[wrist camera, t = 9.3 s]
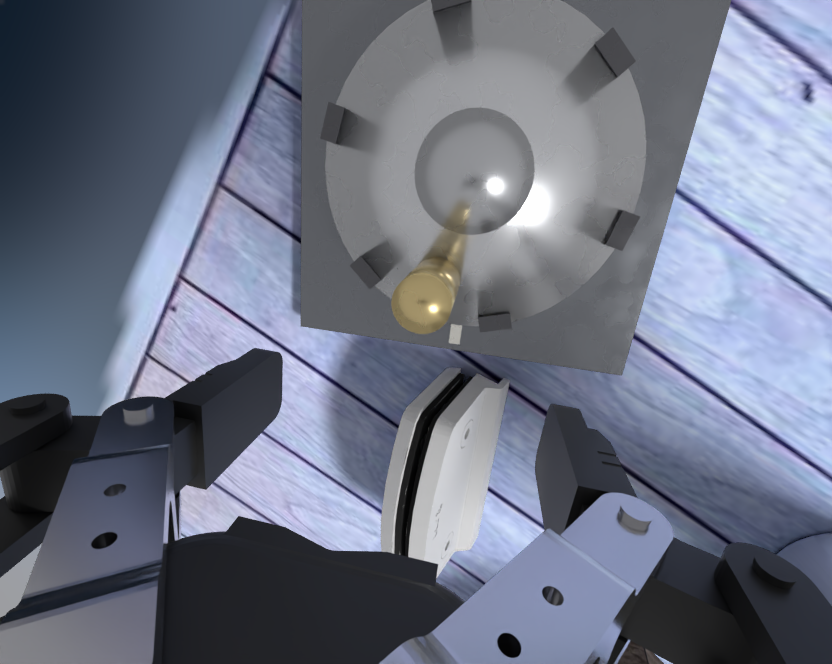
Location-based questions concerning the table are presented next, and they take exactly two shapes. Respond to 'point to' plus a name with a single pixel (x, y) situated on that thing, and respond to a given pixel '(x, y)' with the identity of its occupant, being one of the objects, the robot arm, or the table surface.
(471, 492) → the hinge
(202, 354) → the table surface
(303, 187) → the base plate
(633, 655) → the mug
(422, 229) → the silver disc
